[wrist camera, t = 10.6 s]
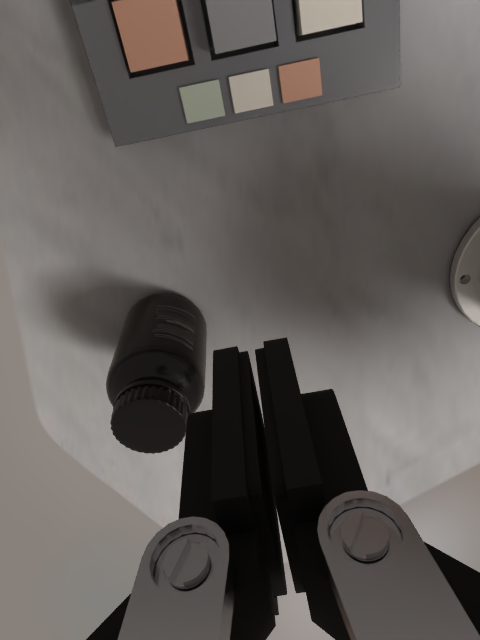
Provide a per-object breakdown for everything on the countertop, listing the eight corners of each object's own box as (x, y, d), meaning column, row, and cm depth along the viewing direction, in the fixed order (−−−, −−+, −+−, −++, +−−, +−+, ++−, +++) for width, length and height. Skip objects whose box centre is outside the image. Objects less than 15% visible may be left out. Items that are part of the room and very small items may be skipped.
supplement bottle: (109, 316, 38) (68, 415, 28) (175, 275, 36) (158, 364, 26) (159, 371, 41) (139, 479, 31) (222, 336, 39) (224, 437, 29)
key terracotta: (176, -7, 26) (172, -12, 24) (190, 59, 28) (188, 59, 26) (120, 6, 27) (111, 2, 25) (137, 71, 28) (130, 72, 26)
